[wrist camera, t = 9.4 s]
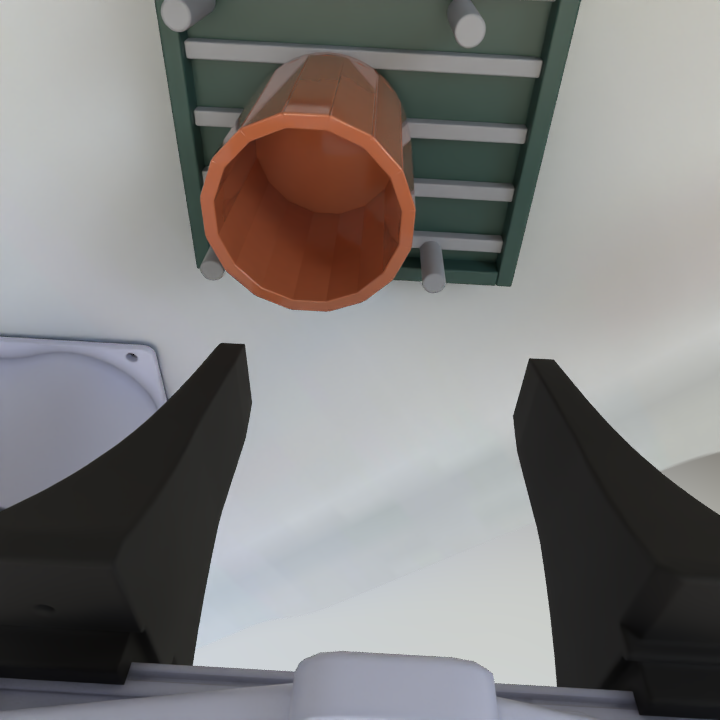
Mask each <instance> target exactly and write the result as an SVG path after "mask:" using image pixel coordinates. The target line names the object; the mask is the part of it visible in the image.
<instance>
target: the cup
mask: <svg viewBox="0 0 720 720" xmlns="http://www.w3.org/2000/svg"><path fill="white" fill-rule="evenodd" d="M200 202H201V209H202V216H203V223H204V230H205V236H206V238H207V240H208V242H209V244H210V245H211V247H212V249H213V250H214V252H215V254H216V255H217V257H218V259H219V261H220V262H221V264H222V266H223V267H224V269H225V270H226V271H227V272H228V273H229V274H230V275H231V276H232V277H234V278H235V279H236V280H237V281H238V282H240V283H241V284H242V285H243V286H244V287H246V288H247V289H248V290H249V291H250V292H252V293H253V294H254V295H256V296H258V297H260V298H263V299H265V300H268V301H270V302H273V303H276V304H278V305H281V306H283V307H286V308H288V309H292V310H308V311H325V312H327V311H333V310H336V309H340V308H343V307H347V306H350V305H354V304H357V303H361V302H363V301H365V300H367V299H368V298H369V297H371V296H372V295H373V294H375V293H376V292H377V291H379V290H380V289H381V288H383V287H384V286H386V285H387V284H388V283H390V282H391V281H392V279H394V278H395V276H396V274H397V272H398V271H399V269H400V267H401V266H402V264H403V262H404V261H405V259H406V257H407V255H408V254H409V252H410V250H411V247H412V242H413V233H414V224H415V215H416V206H415V192H414V177H413V163H412V149H411V136H410V131H409V127H408V122H407V118H406V113H405V111H404V108H403V106H402V103H401V101H400V99H399V97H398V95H397V93H396V92H395V91H394V89H393V88H392V86H391V85H390V84H389V82H388V81H387V80H386V79H385V78H384V77H383V76H382V75H381V74H380V73H379V72H377V71H376V70H375V69H374V68H372V67H371V66H369V65H367V64H366V63H364V62H363V61H360V60H358V59H356V58H353V57H351V56H347V55H344V54H340V53H332V52H316V53H310V54H305V55H302V56H299V57H296V58H293V59H291V60H289V61H287V62H285V63H284V64H282V65H281V66H280V67H278V68H277V69H275V70H274V71H273V72H272V73H271V74H270V75H269V76H268V77H267V78H266V80H265V81H264V82H263V84H262V85H261V86H260V87H259V88H258V89H257V90H256V92H255V93H254V94H253V96H252V97H251V99H250V100H249V102H248V104H247V105H246V107H245V108H244V110H243V111H242V113H241V114H240V116H239V117H238V119H237V120H236V122H235V124H234V125H233V127H232V128H231V130H230V131H229V133H228V134H227V136H226V137H225V139H224V140H223V142H222V144H221V145H220V147H219V148H218V150H217V151H216V153H215V154H214V156H213V157H212V159H211V161H210V165H209V168H208V171H207V175H206V178H205V181H204V185H203V188H202V191H201V195H200Z"/></svg>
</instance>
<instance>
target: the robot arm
mask: <svg viewBox="0 0 720 720" xmlns="http://www.w3.org/2000/svg"><path fill="white" fill-rule="evenodd" d="M130 353H132V354H135V355H136V356H137V357H135V356H132V355H131V354H130ZM251 406H252V398H251V390H250V382H249V374H248V366H247V358H246V350H245V344H231V343H220V344H219V345H218V346H217V347H216V348H215V349H214V351H213V352H212V353H211V354H210V355H209V356H208V358H207V359H206V360H205V361H204V362H203V363H202V365H201V366H200V367H199V368H198V369H197V370H196V371H195V372H194V373H193V375H192V376H191V377H190V378H189V379H188V380H187V381H186V382H185V383H184V384H183V385H182V386H181V387H180V388H179V390H178V391H177V392H176V393H175V394H174V395H173V396H172V397H171V398H170V399H169V400H168V401H167V398H166V394H165V390H164V386H163V381H162V377H161V373H160V369H159V365H158V360H157V356H156V353H155V351H154V350H153V349H152V348H151V347H149V346H146V345H135V344H118V343H101V342H84V341H67V340H51V339H34V338H17V337H0V720H720V515H719V514H717V513H716V512H714V511H713V510H711V509H710V508H708V507H707V506H705V505H704V504H702V503H701V502H699V501H698V500H696V499H695V498H694V497H692V496H691V495H690V494H688V493H687V492H686V491H684V490H683V489H682V488H680V487H679V486H677V485H676V484H675V483H673V482H672V481H671V480H670V479H668V478H667V477H666V476H665V475H663V474H662V473H661V472H660V471H659V470H657V469H656V468H655V467H654V466H653V465H652V464H650V463H649V462H648V461H647V460H646V459H645V458H643V457H642V456H641V455H640V454H639V453H638V452H637V451H636V450H635V449H633V448H632V447H631V446H630V445H629V444H628V443H627V442H626V441H625V440H624V439H623V438H622V437H621V436H620V435H619V434H618V433H617V432H616V431H615V430H614V429H613V428H612V427H611V426H610V425H609V424H608V423H607V421H606V420H605V419H604V418H603V417H602V416H601V415H600V414H599V413H598V412H597V410H596V409H595V408H594V407H593V406H592V405H591V404H590V403H589V401H588V400H587V399H586V398H585V397H584V396H583V394H582V393H581V392H580V391H579V390H578V388H577V387H576V386H575V385H574V384H573V382H572V381H571V380H570V379H569V377H568V376H567V375H566V374H565V373H564V371H563V370H562V369H561V368H560V367H559V365H558V364H557V363H556V362H555V361H554V360H551V359H531V358H529V361H528V365H527V369H526V372H525V376H524V379H523V383H522V386H521V390H520V394H519V397H518V401H517V404H516V408H515V411H514V415H513V419H514V429H515V438H516V445H517V452H518V456H519V460H520V464H521V468H522V472H523V476H524V480H525V484H526V488H527V491H528V495H529V499H530V503H531V507H532V510H533V514H534V518H535V522H536V525H537V530H538V534H539V539H540V544H541V550H542V558H543V564H544V571H545V578H546V585H547V593H548V601H549V608H550V617H551V627H552V636H553V646H554V655H555V667H556V679H557V687H550V686H533V685H532V686H531V685H515V684H497V683H494V678H493V674H492V673H491V672H490V671H489V670H487V669H486V668H484V667H482V666H481V665H479V664H477V663H476V662H474V661H469V660H463V659H458V658H452V657H436V656H418V655H401V654H383V653H366V652H365V653H364V652H348V651H338V652H323V653H318V654H316V655H313V656H311V657H308V658H306V659H304V660H303V661H301V662H300V663H299V665H298V667H297V669H296V671H295V672H292V671H291V672H290V671H274V670H257V669H240V668H223V667H222V668H221V667H205V666H193V660H194V653H195V647H196V640H197V634H198V628H199V623H200V617H201V611H202V605H203V600H204V594H205V589H206V584H207V578H208V573H209V568H210V563H211V558H212V553H213V548H214V543H215V538H216V534H217V529H218V525H219V521H220V517H221V514H222V510H223V507H224V504H225V501H226V498H227V494H228V491H229V488H230V485H231V482H232V479H233V476H234V473H235V470H236V467H237V464H238V460H239V457H240V454H241V451H242V448H243V445H244V441H245V438H246V433H247V428H248V423H249V417H250V412H251Z"/></svg>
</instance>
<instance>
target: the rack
mask: <svg viewBox="0 0 720 720" xmlns="http://www.w3.org/2000/svg"><path fill="white" fill-rule="evenodd" d="M580 2H581V0H155V6H156V13H157V19H158V25H159V32H160V38H161V44H162V50H163V57H164V63H165V69H166V75H167V82H168V88H169V94H170V101H171V107H172V113H173V119H174V126H175V132H176V138H177V144H178V151H179V157H180V163H181V170H182V176H183V182H184V188H185V195H186V201H187V207H188V214H189V220H190V226H191V232H192V239H193V245H194V251H195V257H196V264H197V268H199V269H200V270H201V273H202V275H203V276H204V277H205V278H207V279H209V280H218V279H220V278H221V277H222V276H223V274H224V272H225V269H224V267H223V266H222V264H221V262H220V261H219V259H218V257H217V255H216V254H215V252H214V250H213V249H212V247H211V245H210V244H209V242H208V240H207V238H206V236H205V230H204V223H203V216H202V209H201V202H200V195H201V191H202V188H203V185H204V181H205V178H206V175H207V171H208V168H209V165H210V161H211V159H212V157H213V156H214V154H215V153H216V151H217V150H218V148H219V147H220V145H221V144H222V142H223V140H224V139H225V137H226V136H227V134H228V133H229V131H230V130H231V128H232V127H233V125H234V124H235V122H236V120H237V119H238V117H239V116H240V114H241V113H242V111H243V110H244V108H245V107H246V105H247V104H248V102H249V100H250V99H251V97H252V96H253V94H254V93H255V92H256V90H257V89H258V88H259V87H260V86H261V85H262V84H263V82H264V81H265V80H266V78H267V77H268V76H269V75H270V74H271V73H272V72H273V71H274V70H275V69H277V68H278V67H280V66H281V65H282V64H284V63H285V62H287V61H289V60H291V59H293V58H296V57H299V56H302V55H305V54H310V53H316V52H332V53H340V54H344V55H347V56H351V57H353V58H356V59H358V60H360V61H363V62H364V63H366V64H367V65H369V66H371V67H372V68H374V69H375V70H376V71H377V72H379V73H380V74H381V75H382V76H383V77H384V78H385V79H386V80H387V81H388V82H389V84H390V85H391V86H392V88H393V89H394V91H395V92H396V93H397V95H398V97H399V99H400V101H401V103H402V106H403V108H404V111H405V113H406V118H407V122H408V127H409V131H410V136H411V149H412V163H413V177H414V192H415V206H416V215H415V224H414V233H413V242H412V247H411V250H410V252H409V254H408V255H407V257H406V259H405V261H404V262H403V264H402V266H401V267H400V269H399V271H398V272H397V274H396V276H395V278H394V279H392V280H405V281H422V285H423V288H424V289H425V290H426V291H428V292H430V293H437V292H439V291H441V290H442V289H443V288H444V287H445V284H446V283H457V284H474V285H491V286H494V285H495V284H496V285H497V286H509V287H510V286H511V285H512V281H513V277H514V273H515V269H516V265H517V261H518V257H519V252H520V248H521V244H522V240H523V236H524V232H525V228H526V224H527V220H528V216H529V211H530V207H531V203H532V199H533V195H534V191H535V187H536V183H537V179H538V175H539V170H540V166H541V162H542V158H543V154H544V150H545V146H546V142H547V138H548V133H549V129H550V125H551V121H552V117H553V113H554V109H555V105H556V101H557V97H558V92H559V88H560V84H561V80H562V76H563V72H564V68H565V64H566V60H567V56H568V51H569V47H570V43H571V39H572V35H573V31H574V27H575V23H576V19H577V15H578V10H579V6H580Z"/></svg>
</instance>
